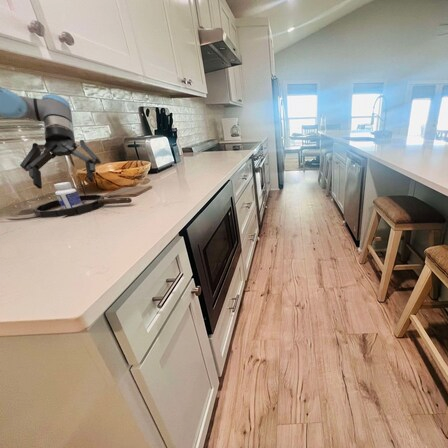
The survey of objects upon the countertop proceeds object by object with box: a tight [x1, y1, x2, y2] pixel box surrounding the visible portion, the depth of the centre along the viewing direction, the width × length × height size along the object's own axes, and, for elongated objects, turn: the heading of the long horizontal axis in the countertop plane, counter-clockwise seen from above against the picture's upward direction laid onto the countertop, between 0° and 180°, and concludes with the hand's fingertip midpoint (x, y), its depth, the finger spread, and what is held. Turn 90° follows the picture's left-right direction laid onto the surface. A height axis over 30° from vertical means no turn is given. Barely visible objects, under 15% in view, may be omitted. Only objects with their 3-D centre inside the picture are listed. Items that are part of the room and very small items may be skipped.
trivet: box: [103, 185, 153, 199], centre depth 97 cm, size 12×12×1 cm
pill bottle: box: [53, 181, 84, 209], centre depth 79 cm, size 5×5×9 cm
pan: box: [33, 194, 133, 219], centre depth 80 cm, size 28×17×3 cm, turn 93°
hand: (65, 183), depth 79 cm, fingers open, 13 cm apart
